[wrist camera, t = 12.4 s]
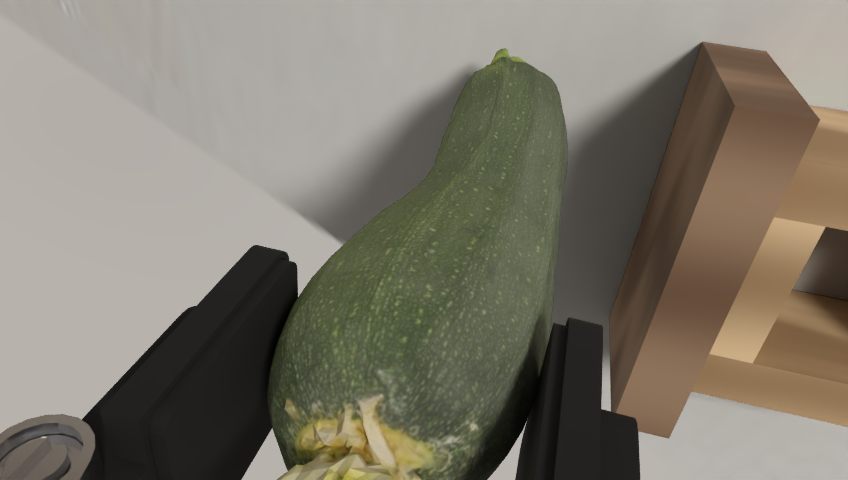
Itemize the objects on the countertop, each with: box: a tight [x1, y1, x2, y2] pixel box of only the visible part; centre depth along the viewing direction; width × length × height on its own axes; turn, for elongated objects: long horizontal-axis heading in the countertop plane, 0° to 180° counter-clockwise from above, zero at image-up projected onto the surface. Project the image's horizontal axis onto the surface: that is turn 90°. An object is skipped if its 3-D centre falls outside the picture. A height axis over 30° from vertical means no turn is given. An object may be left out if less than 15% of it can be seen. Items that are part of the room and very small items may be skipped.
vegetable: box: [267, 48, 568, 480], centre depth 14 cm, size 4×4×20 cm
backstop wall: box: [609, 42, 820, 438], centre depth 21 cm, size 12×2×6 cm, turn 175°
